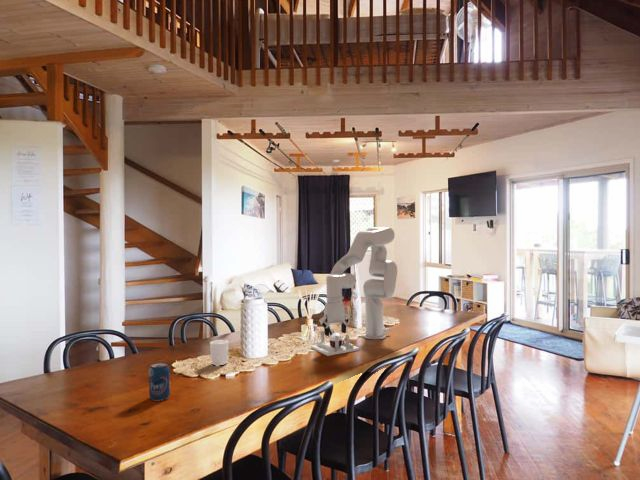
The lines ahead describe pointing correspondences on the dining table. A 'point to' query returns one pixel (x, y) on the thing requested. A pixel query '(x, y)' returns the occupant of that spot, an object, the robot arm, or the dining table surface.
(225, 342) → the white cup
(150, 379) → the soda can
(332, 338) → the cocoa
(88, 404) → the dining table surface
